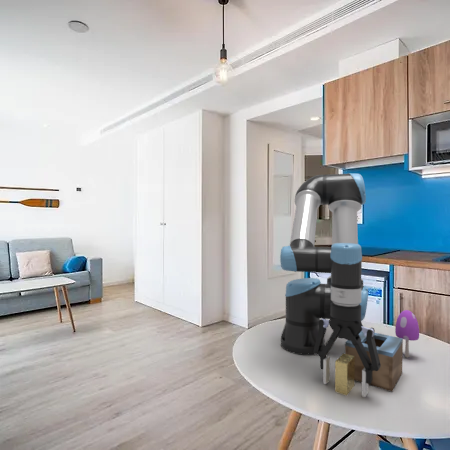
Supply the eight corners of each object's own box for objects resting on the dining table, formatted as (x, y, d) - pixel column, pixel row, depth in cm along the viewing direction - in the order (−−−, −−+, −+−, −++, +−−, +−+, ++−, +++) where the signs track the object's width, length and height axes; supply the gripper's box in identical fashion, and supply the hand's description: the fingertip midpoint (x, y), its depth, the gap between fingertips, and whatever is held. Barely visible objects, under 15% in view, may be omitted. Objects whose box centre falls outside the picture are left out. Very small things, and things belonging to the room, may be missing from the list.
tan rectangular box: (335, 391, 83) (335, 360, 83) (343, 382, 88) (343, 353, 88) (347, 395, 81) (347, 364, 81) (354, 385, 86) (354, 356, 86)
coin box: (345, 377, 90) (345, 342, 90) (359, 361, 100) (359, 329, 100) (392, 391, 83) (392, 353, 83) (402, 372, 93) (402, 338, 93)
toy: (422, 362, 100) (423, 314, 99) (399, 360, 101) (399, 312, 101) (414, 353, 106) (414, 308, 106) (392, 351, 108) (392, 307, 107)
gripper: (300, 298, 88) (299, 380, 88) (388, 313, 74) (387, 410, 74) (311, 293, 94) (311, 370, 94) (395, 306, 80) (394, 396, 80)
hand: (345, 388), depth 84 cm, fingers open, 9 cm apart
